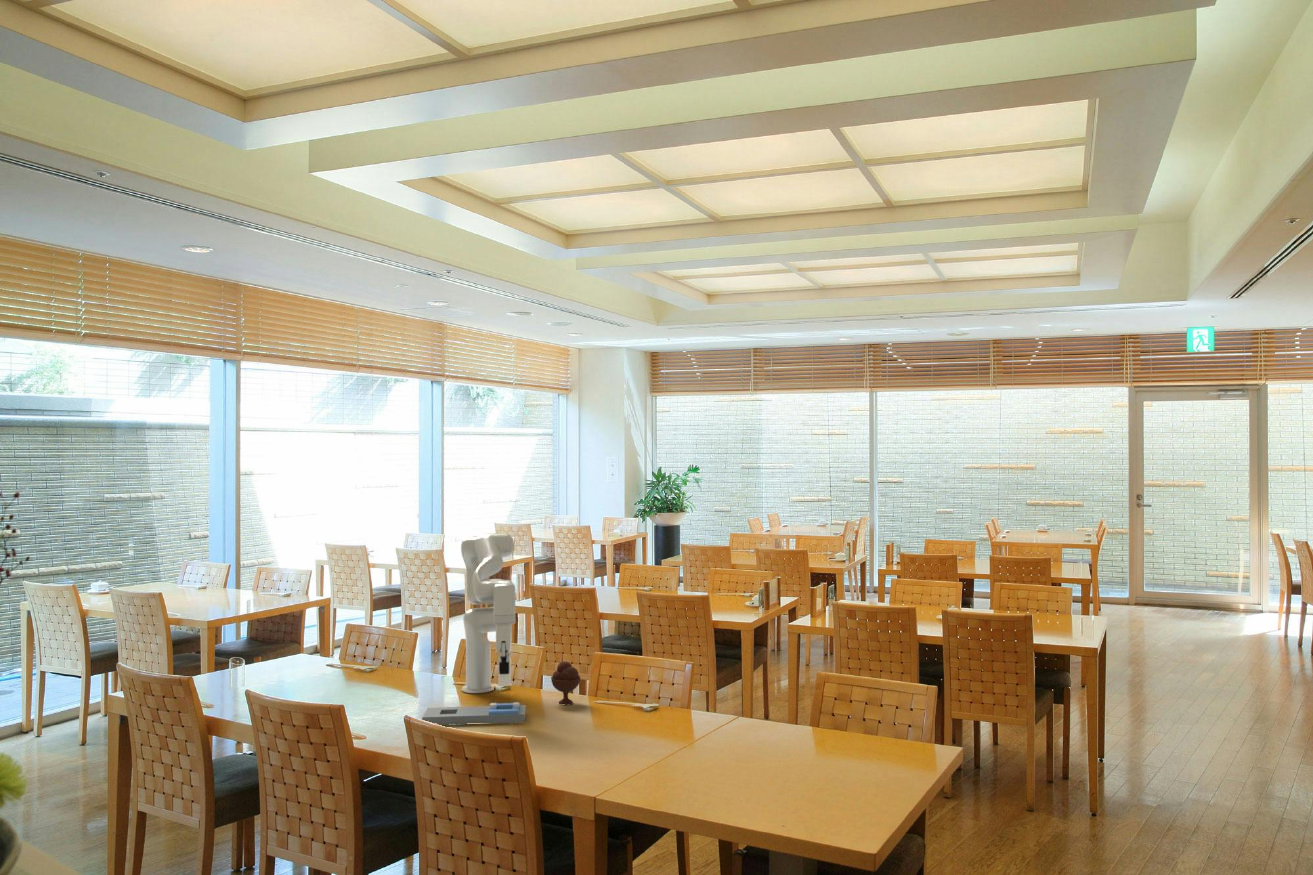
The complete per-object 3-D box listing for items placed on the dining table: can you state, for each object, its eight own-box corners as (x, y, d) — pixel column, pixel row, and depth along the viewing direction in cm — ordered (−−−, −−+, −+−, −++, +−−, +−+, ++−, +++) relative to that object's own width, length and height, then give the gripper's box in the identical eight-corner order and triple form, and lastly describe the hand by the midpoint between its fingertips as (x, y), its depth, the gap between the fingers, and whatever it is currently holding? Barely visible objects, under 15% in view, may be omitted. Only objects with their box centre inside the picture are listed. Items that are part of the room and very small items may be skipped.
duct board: (427, 716, 323) (427, 701, 323) (525, 713, 326) (525, 698, 327) (422, 726, 311) (422, 710, 311) (524, 722, 314) (524, 707, 315)
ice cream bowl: (545, 705, 337) (544, 663, 338) (562, 698, 347) (561, 657, 347) (569, 708, 332) (569, 666, 333) (586, 701, 342) (585, 660, 342)
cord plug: (499, 683, 322) (499, 648, 322) (510, 682, 322) (510, 648, 322) (498, 685, 318) (498, 650, 318) (510, 685, 318) (510, 650, 318)
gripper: (495, 615, 329) (495, 667, 328) (491, 623, 312) (491, 678, 311) (516, 615, 329) (516, 666, 329) (513, 622, 313) (514, 677, 312)
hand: (504, 671), depth 320 cm, fingers closed on cord plug, 4 cm apart
